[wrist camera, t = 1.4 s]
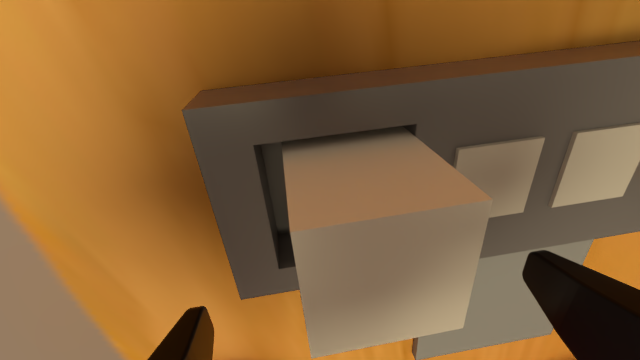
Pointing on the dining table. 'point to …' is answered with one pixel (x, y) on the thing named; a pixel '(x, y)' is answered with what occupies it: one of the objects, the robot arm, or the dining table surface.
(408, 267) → the block
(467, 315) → the mat
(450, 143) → the power strip
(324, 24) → the dining table surface
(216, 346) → the dining table surface
